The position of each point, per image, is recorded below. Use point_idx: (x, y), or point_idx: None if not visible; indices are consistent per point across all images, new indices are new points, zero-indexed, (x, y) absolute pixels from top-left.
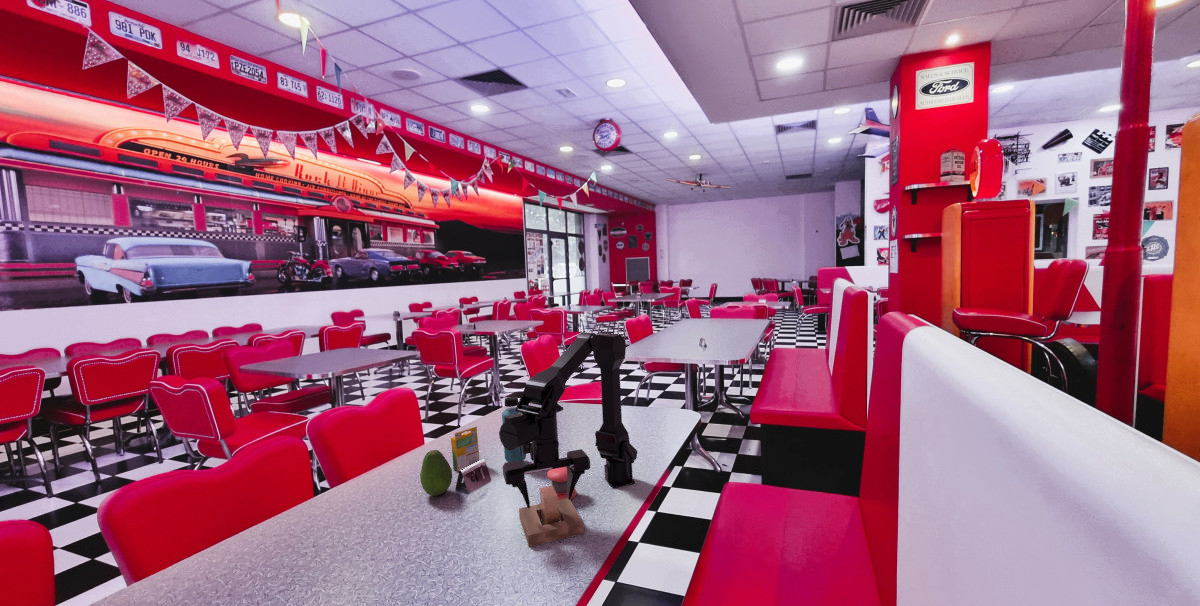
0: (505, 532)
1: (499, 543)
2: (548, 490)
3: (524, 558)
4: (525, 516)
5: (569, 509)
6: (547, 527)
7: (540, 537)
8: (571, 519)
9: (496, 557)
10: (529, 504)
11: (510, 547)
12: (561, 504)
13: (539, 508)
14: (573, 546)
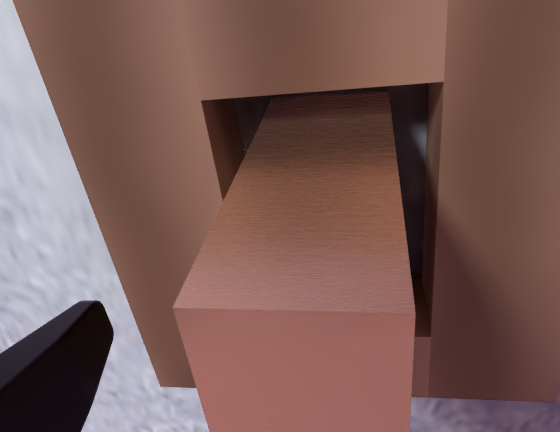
0: (10, 149)
1: (11, 248)
2: (311, 409)
3: (169, 389)
4: (110, 177)
5: (543, 200)
6: None
7: None
8: (489, 340)
9: None
10: (96, 386)
11: (84, 300)
12: (503, 65)
13: (238, 75)
14: (422, 399)
